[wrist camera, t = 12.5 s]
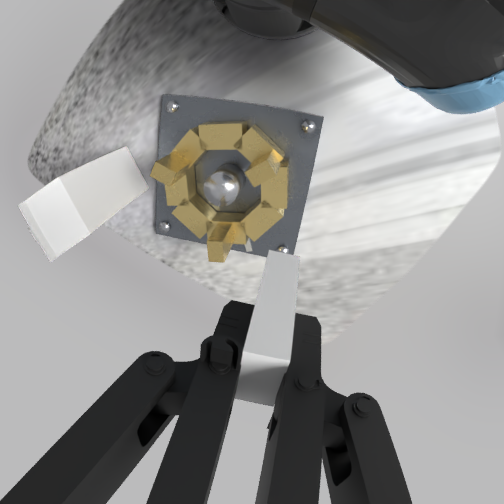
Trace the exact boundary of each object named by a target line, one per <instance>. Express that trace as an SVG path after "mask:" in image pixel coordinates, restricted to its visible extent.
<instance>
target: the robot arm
mask: <svg viewBox="0 0 504 504" xmlns="http://www.w3.org/2000/svg"><path fill="white" fill-rule="evenodd" d="M214 3H215V5H216V7H217V9H218V10H219V12H220V13H221V14H222V15H223V16H224V17H225V18H226V19H227V20H228V21H229V22H230V23H231V24H233V25H234V26H235V27H237V28H238V29H240V30H242V31H243V32H245V33H248V34H250V35H253V36H256V37H260V38H265V39H272V40H284V39H292V38H297V37H301V36H304V35H306V34H309V33H311V32H313V31H315V30H317V29H318V28H319V29H321V30H322V31H324V32H326V33H328V34H330V35H331V36H333V37H335V38H337V39H338V40H340V41H342V42H343V43H345V44H347V45H348V46H350V47H351V48H353V49H355V50H356V51H358V52H359V53H361V54H362V55H364V56H365V57H367V58H368V59H370V60H371V61H373V62H374V63H376V64H377V65H379V66H380V67H382V68H383V69H385V70H386V71H387V72H389V73H390V74H392V75H393V76H394V78H395V80H396V81H397V82H398V83H399V84H400V85H402V86H403V87H404V88H407V89H409V90H410V91H413V92H415V93H417V94H418V95H419V96H421V97H422V98H423V99H425V100H426V101H427V102H429V103H430V104H431V105H433V106H434V107H436V108H437V109H440V110H442V111H445V112H448V113H452V114H471V113H476V112H480V111H483V110H486V109H489V108H492V107H494V106H496V105H498V104H500V103H502V102H503V101H504V0H214ZM299 263H300V256H295V255H291V254H286V253H281V252H277V251H272V250H269V252H268V256H267V260H266V264H265V268H264V272H263V276H262V279H261V283H260V287H259V291H258V295H257V299H256V303H255V305H251V304H247V303H242V302H238V301H233V300H231V301H230V302H229V303H228V304H227V305H225V306H224V308H223V311H222V313H221V316H220V318H219V321H218V324H217V326H216V329H215V332H214V334H213V336H210V337H208V338H206V339H205V340H204V341H203V342H202V344H201V351H200V358H199V359H197V360H194V361H188V362H174V361H173V360H172V358H171V357H170V356H169V355H167V354H166V353H163V352H159V351H151V352H147V353H144V354H143V355H141V356H140V357H139V358H138V359H137V360H136V361H135V362H134V363H133V364H132V365H131V366H130V367H129V368H128V369H127V370H126V371H125V372H124V373H123V374H122V375H121V376H120V377H119V378H118V379H117V380H116V381H115V382H114V383H113V384H112V385H111V386H110V387H109V388H108V389H107V390H106V391H105V392H104V394H102V396H101V397H100V398H99V399H98V400H97V401H96V402H95V403H94V404H93V405H92V406H91V407H90V408H89V409H88V410H87V411H86V412H85V413H84V414H83V415H82V416H81V417H80V418H79V419H78V420H77V421H76V422H75V423H74V425H73V426H71V428H70V429H69V430H68V431H67V432H66V433H65V434H64V435H63V436H62V437H61V438H60V439H59V440H58V441H57V442H56V443H55V444H54V445H53V446H52V447H51V448H50V449H49V450H48V451H47V453H45V455H44V456H43V457H42V458H41V459H40V460H39V461H38V462H37V463H36V464H35V465H34V466H33V467H32V468H31V469H30V470H29V471H28V472H27V473H26V474H25V476H23V478H22V479H21V480H20V481H19V482H18V483H17V484H16V485H15V486H14V487H13V488H12V489H11V490H10V491H9V492H8V493H7V494H6V495H5V496H4V498H3V499H2V500H1V501H0V504H106V503H107V502H108V500H109V499H110V498H111V497H112V495H113V494H114V493H115V492H116V490H117V489H118V488H119V487H120V486H121V484H122V483H123V482H124V480H125V479H126V478H127V477H128V476H129V474H130V473H131V472H132V470H133V469H134V468H135V467H136V465H137V464H138V463H139V461H140V460H141V459H142V458H143V456H144V455H145V454H146V453H147V451H148V450H149V449H150V447H151V446H152V445H153V444H154V442H155V441H156V439H157V438H158V437H159V436H160V435H161V433H162V432H163V431H164V429H165V428H166V427H167V425H168V424H169V423H170V421H171V420H172V419H173V418H174V416H175V415H179V418H178V420H177V423H176V426H175V428H174V431H173V433H172V436H171V439H170V441H169V444H168V447H167V449H166V452H165V455H164V457H163V460H162V463H161V466H160V468H159V471H158V474H157V476H156V479H155V482H154V484H153V487H152V490H151V492H150V495H149V498H148V501H147V503H146V504H207V501H208V497H209V494H210V490H211V486H212V482H213V479H214V475H215V471H216V468H217V464H218V460H219V456H220V453H221V449H222V445H223V441H224V438H225V434H226V430H227V426H228V422H229V418H230V414H231V411H232V406H233V401H234V398H235V399H240V400H244V401H249V402H254V403H258V404H263V405H268V406H274V404H275V406H274V412H273V414H272V417H271V420H270V422H269V424H268V427H267V428H268V429H269V432H268V438H267V443H266V449H265V454H264V460H263V465H262V471H261V476H260V481H259V486H258V492H257V497H256V502H255V504H318V501H319V489H320V477H321V463H322V459H323V465H324V469H325V474H326V479H327V484H328V488H329V493H330V498H331V504H412V501H411V498H410V494H409V491H408V488H407V485H406V481H405V478H404V475H403V472H402V469H401V466H400V463H399V460H398V457H397V454H396V451H395V448H394V445H393V442H392V439H391V436H390V433H389V431H388V428H387V425H386V422H385V419H384V417H383V414H382V411H381V409H380V406H379V404H378V402H377V401H376V400H375V399H374V398H373V397H372V396H370V395H367V394H365V393H354V394H351V395H350V396H348V397H346V396H344V395H341V394H339V393H337V392H335V391H333V390H331V389H330V388H329V387H328V386H326V384H325V383H324V381H323V379H322V377H321V325H320V323H319V321H318V319H317V317H313V316H308V315H303V314H298V313H295V310H296V299H297V288H298V276H299Z"/></svg>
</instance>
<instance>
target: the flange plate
mask: <svg viewBox="0 0 504 504" xmlns="http://www.w3.org/2000/svg"><path fill="white" fill-rule="evenodd" d="M323 118H324V117H323V116H319V115H314V114H310V113H305V112H300V111H295V110H289V109H284V108H279V107H273V106H267V105H261V104H254V103H247V102H240V101H233V100H225V99H216V98H207V97H196V96H184V95H170V94H164V95H163V99H162V110H161V122H160V135H159V150H158V160H159V159H161V158H163V157H165V156H167V155H169V154H170V153H171V152H172V150H173V149H174V148H175V147H176V145H177V144H178V143H179V142H180V141H181V139H182V138H183V137H184V136H185V135H186V134H187V132H188V131H189V130H190V129H192V128H194V127H197V126H198V125H200V124H203V123H205V122H222V121H247V131H248V130H249V129H250V128H251V127H252V126H254V125H255V124H256V125H257V126H258V127H259V128H260V129H261V130H262V131H263V132H264V133H265V134H266V135H267V136H268V137H269V138H270V139H271V140H272V141H273V142H274V143H275V144H276V145H277V146H278V147H279V148H281V149H282V150H283V151H284V152H285V156H284V158H283V159H282V160H281V161H284V162H289V191H288V205H287V209H285V210H284V214H283V217H282V218H281V219H280V220H279V221H278V222H276V223H275V224H274V225H273V226H272V227H271V228H270V229H268V230H267V231H266V232H265V233H264V234H263V235H261V236H260V237H259V238H258V239H257V240H256V241H255V242H254V241H253V240H252V239H250V238H248V241H247V243H246V244H233V245H232V247H231V250H236V251H241V252H245V253H250V254H255V255H260V256H264V257H267V256H268V252H269V250H272V251H277V252H281V253H286V254H291V255H293V254H294V250H295V246H296V242H297V237H298V233H299V229H300V225H301V220H302V216H303V212H304V207H305V203H306V198H307V194H308V189H309V185H310V180H311V176H312V171H313V167H314V162H315V157H316V152H317V148H318V143H319V138H320V133H321V128H322V123H323ZM250 164H251V162H250V161H249V160H248V159H247V158H245V157H244V156H243V155H242V154H241V153H240V152H239V151H238V150H208V151H207V152H206V153H205V154H204V155H203V156H202V158H201V159H200V160H199V161H198V162H197V163H196V164H195V165H194V171H195V183H196V193H197V194H198V195H199V196H200V197H201V198H202V199H203V200H204V201H205V202H206V203H207V204H209V205H210V206H211V207H212V208H213V209H214V210H215V211H216V212H225V213H245V212H246V211H247V210H249V209H250V208H251V207H252V206H253V205H254V204H255V203H256V202H257V201H258V200H259V199H260V198H261V184H260V185H258V186H256V187H253V185H252V184H251V182H250V180H249V179H248V177H247V176H246V174H245V171H246V170H247V168H248V167H249V166H250ZM176 207H177V206H167V199H166V190H165V184H163V183H162V182H160V181H158V180H157V196H156V234H161V235H166V236H170V237H175V238H180V239H184V240H189V241H194V242H198V243H203V244H207V240H208V239H207V233H206V234H205V235H204V236H203V237H202V238H201V239H199V238H198V237H197V236H196V235H195V234H194V233H193V232H192V231H190V230H189V229H188V228H187V227H186V226H185V225H184V224H183V223H182V222H181V221H179V220H178V219H177V218H176V217H175V216H174V215H173V214H172V212H173V211H174V210H175V208H176Z"/></svg>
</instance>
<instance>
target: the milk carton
mask: <svg viewBox="0 0 504 504" xmlns="http://www.w3.org/2000/svg"><path fill="white" fill-rule="evenodd" d="M148 189H149V187H148V185H147V183H146V181H145V179H144V178H143V176H142V174H141V172H140V170H139V168H138V166H137V164H136V163H135V161H134V159H133V157H132V155H131V153H130V151H129V149H128V147H127V146H125V147H123V148H120V149H118V150H116V151H113V152H111V153H109V154H106V155H104V156H102V157H100V158H97V159H95V160H93V161H91V162H89V163H86V164H84V165H82V166H80V167H78V168H76V169H74V170H72V171H70V172H68V173H66V174H64V175H62V176H60V177H57V178H56V179H55V180H53V181H52V182H50V183H49V184H47V185H46V186H44V187H43V188H42V189H40V190H39V191H37V192H36V193H35V194H33V195H32V196H30V197H29V198H28V199H26V200H25V201H24V202H22V203H20V204H19V205H18V207H19V210H20V211H21V213H22V215H23V217H24V219H25V221H26V222H27V224H28V226H29V230H30V232H31V234H32V236H33V238H34V239H35V241H36V242H38V243H39V245H40V247H41V248H42V250H43V252H44V253H45V254H46V256H47V258H48V259H49V261H50V262H52V261H54V260H55V259H56V258H57V257H58V256H60V255H61V254H63V253H64V252H65V251H67V250H68V249H70V248H71V247H72V246H74V245H75V244H77V243H78V242H80V241H81V240H82V239H84V238H85V237H87V236H88V235H90V234H91V233H92V232H93V231H94V230H96V229H97V228H98V227H100V226H101V225H102V224H103V223H105V222H106V221H107V220H108V219H110V218H111V217H112V216H113V215H115V214H116V213H117V212H119V211H120V210H121V209H123V208H124V207H125V206H126V205H128V204H129V203H130V202H132V201H133V200H134V199H136V198H137V197H138V196H140V195H141V194H143V193H144V192H145V191H147V190H148Z"/></svg>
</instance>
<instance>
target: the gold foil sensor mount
mask: <svg viewBox="0 0 504 504" xmlns="http://www.w3.org/2000/svg"><path fill="white" fill-rule="evenodd" d="M208 150H238V151H239V152H240V153H241V154H242V155H243V156H244V157H245V158H247V159H248V160H249V161H250V162H251V164H250V166H249V167H248V168H247V170H246V171H245V174H246V176H247V177H248V179H249V180H250V182H251V184H252V185H253V187H256V186H258V185H260V184H261V198H260V199H259V200H258V201H257V202H256V203H255V204H254V205H253V206H252V207H251V208H250V209H249V210H247V211H246V212H245V213H225V212H216V211H215V210H214V209H213V208H212V207H211V206H210V205H209V204H207V203H206V202H205V201H204V200H203V199H202V198H201V197H200V196H199V195H198V194H197V193H196V183H195V171H194V165H195V164H196V163H197V162H198V161H199V160H200V159H201V158H202V156H203V155H204V154H205V153H206V152H207V151H208ZM284 156H285V152H284V151H283V150H282V149H281V148H279V147H278V146H277V145H276V144H275V143H274V142H273V141H272V140H271V139H270V138H269V137H268V136H267V135H266V134H265V133H264V132H263V131H262V130H261V129H260V128H259V127H258V126H257V125H256V124H255V125H254V126H252V127H251V128H250V129H249V130H248V131H247V121H222V122H205V123H203V124H200V125H198V126H197V127H194V128H192V129H190V130H189V131H188V132H187V134H186V135H185V136H184V137H183V138H182V139H181V141H180V142H179V143H178V144H177V145H176V147H175V148H174V149H173V150H172V152H171V153H170V154H169V155H167V156H165V157H163V158H161V159H159V160H158V161H156V162H155V164H154V167H153V169H152V172H151V174H150V176H151V177H153V178H154V179H156V180H158V181H160V182H162V183H163V184H165V190H166V199H167V206H177V207H176V208H175V210H174V211H173V212H172V214H173V215H174V216H175V217H176V218H177V219H178V220H179V221H181V222H182V223H183V224H184V225H185V226H186V227H187V228H188V229H189V230H190V231H192V232H193V233H194V234H195V235H196V236H197V237H198V238H199V239H201V238H202V237H203V236H204V235H205V234H206V233H207V239H208V240H207V249H208V258H209V262H225V259H226V257H227V255H228V253H229V251H230V249H231V247H232V245H233V244H246V243H247V241H248V238H250V239H252V240H253V241H254V242H255V241H256V240H257V239H258V238H259V237H260V236H261V235H263V234H264V233H265V232H266V231H267V230H268V229H270V228H271V227H272V226H273V225H274V224H275V223H276V222H278V221H279V220H280V219H281V218H282V217H283V214H284V210H285V209H287V205H288V191H289V162H284V161H281V160H282V159H283V158H284Z"/></svg>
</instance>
